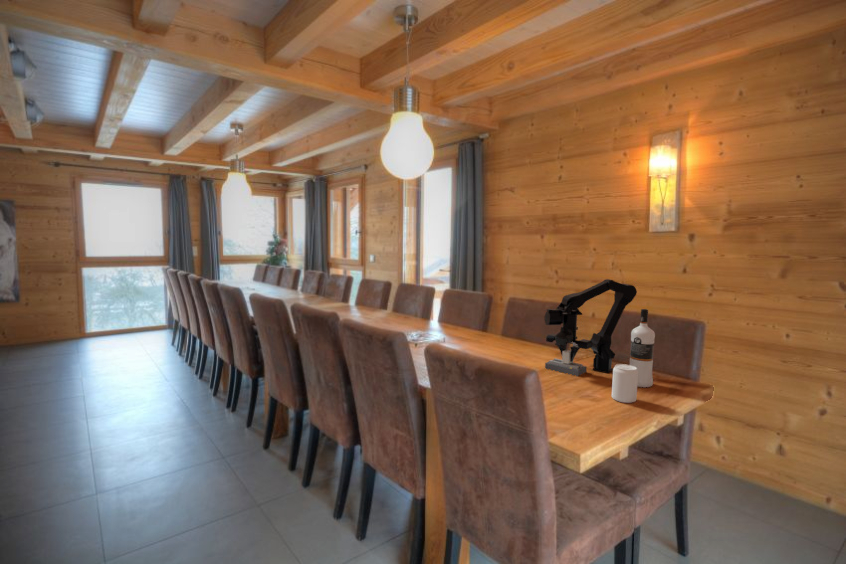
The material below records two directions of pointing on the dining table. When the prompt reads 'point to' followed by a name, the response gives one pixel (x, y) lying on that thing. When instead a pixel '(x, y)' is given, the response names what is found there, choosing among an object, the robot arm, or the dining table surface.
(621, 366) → the white cylinder
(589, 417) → the dining table surface
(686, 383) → the dining table surface
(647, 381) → the vodka
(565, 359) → the fader tab
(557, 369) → the fader console
